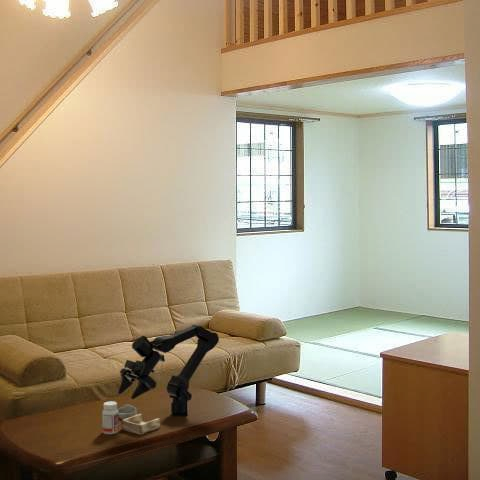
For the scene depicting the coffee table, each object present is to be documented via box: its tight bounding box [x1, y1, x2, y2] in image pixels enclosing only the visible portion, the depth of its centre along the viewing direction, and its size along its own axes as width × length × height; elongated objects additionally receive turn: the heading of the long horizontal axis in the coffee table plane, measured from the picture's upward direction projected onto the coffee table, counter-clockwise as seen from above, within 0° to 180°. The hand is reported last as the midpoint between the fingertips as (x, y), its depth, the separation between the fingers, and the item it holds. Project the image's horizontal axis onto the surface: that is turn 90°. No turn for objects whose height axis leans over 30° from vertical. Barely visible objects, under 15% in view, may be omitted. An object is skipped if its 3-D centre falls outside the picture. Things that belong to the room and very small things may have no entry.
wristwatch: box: [117, 404, 138, 420], centre depth 280 cm, size 9×6×5 cm
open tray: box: [120, 413, 161, 436], centre depth 265 cm, size 11×11×4 cm
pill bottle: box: [101, 400, 120, 435], centre depth 261 cm, size 6×6×11 cm
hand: (125, 396), depth 265 cm, fingers open, 9 cm apart
